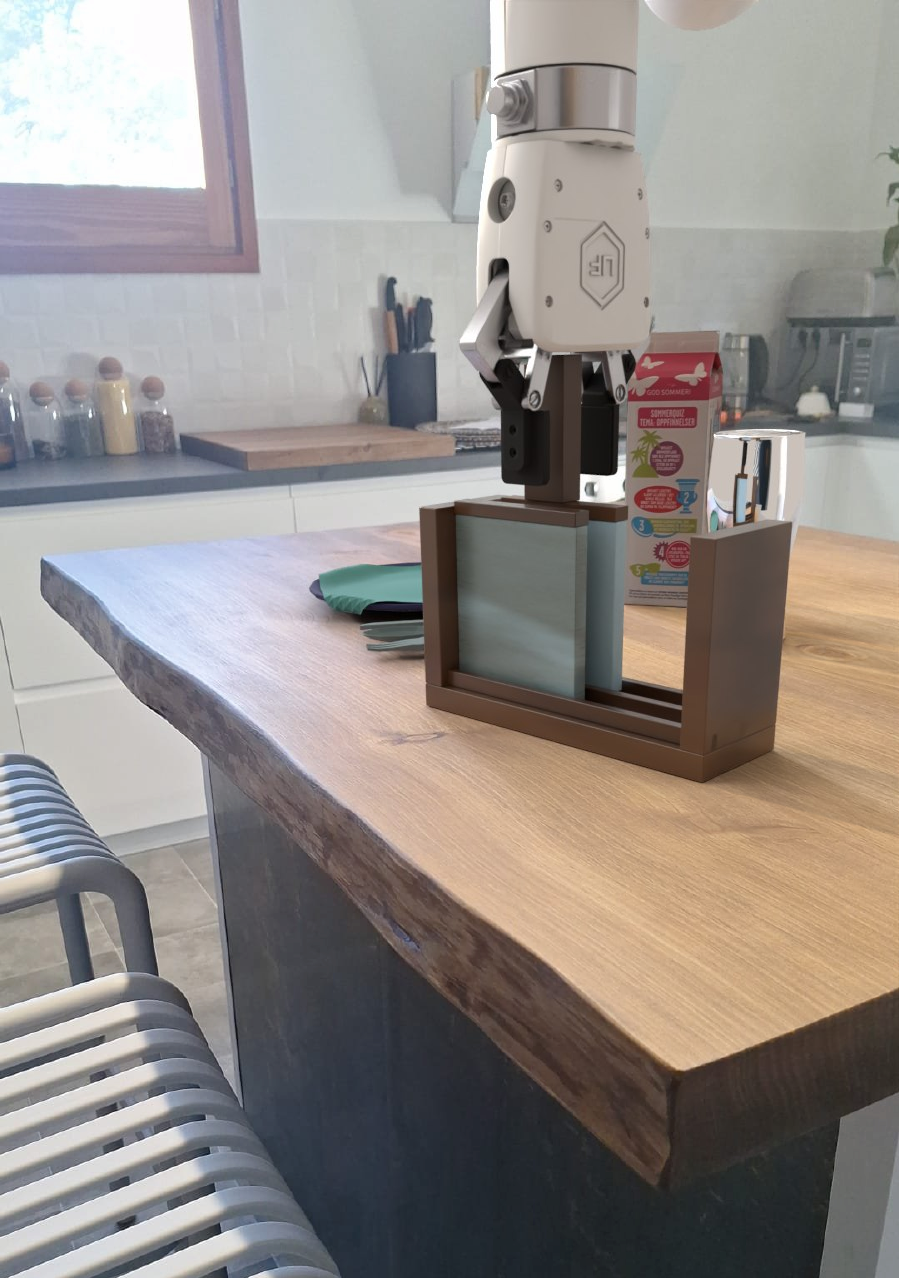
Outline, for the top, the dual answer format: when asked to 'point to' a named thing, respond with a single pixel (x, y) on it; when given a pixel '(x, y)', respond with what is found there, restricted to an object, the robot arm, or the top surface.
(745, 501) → the beer glass
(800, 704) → the top surface
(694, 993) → the top surface
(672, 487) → the juice carton
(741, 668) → the window frame
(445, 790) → the top surface
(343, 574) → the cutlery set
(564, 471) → the sash
